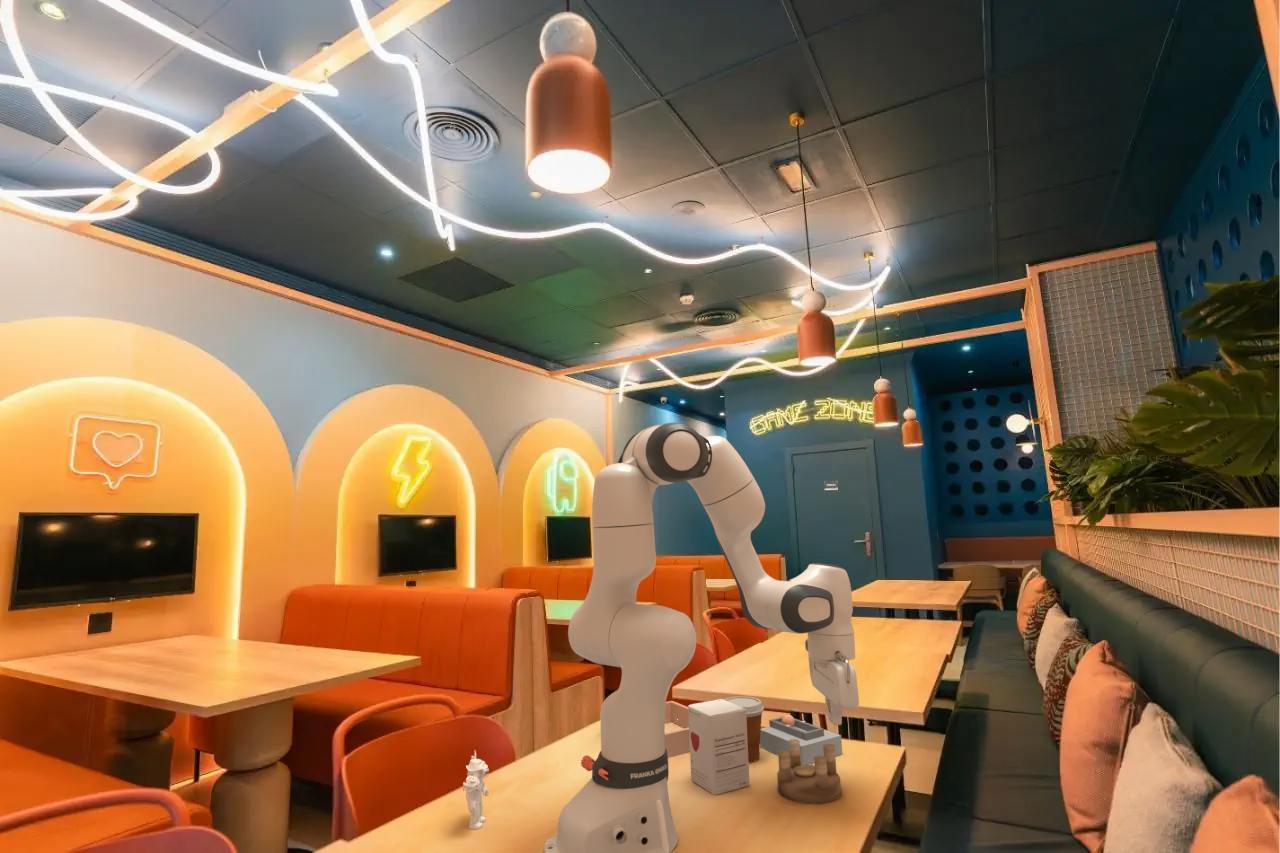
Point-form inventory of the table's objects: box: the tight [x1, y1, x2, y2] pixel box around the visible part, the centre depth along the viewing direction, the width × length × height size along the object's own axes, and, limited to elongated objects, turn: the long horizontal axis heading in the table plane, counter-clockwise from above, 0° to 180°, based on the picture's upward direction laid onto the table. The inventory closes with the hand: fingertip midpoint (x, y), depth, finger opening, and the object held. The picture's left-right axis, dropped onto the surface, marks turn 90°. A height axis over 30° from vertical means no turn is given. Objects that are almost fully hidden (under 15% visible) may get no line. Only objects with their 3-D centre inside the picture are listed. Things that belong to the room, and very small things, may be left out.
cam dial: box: [776, 739, 842, 804], centre depth 126 cm, size 12×12×8 cm
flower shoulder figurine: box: [462, 750, 490, 830], centre depth 117 cm, size 9×4×12 cm, turn 178°
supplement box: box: [687, 698, 751, 796], centre depth 132 cm, size 9×9×15 cm
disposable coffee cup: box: [724, 695, 764, 763], centre depth 145 cm, size 10×10×12 cm
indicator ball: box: [782, 714, 795, 727], centre depth 151 cm, size 3×3×3 cm
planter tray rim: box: [665, 700, 690, 758], centre depth 158 cm, size 21×22×5 cm
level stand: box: [760, 716, 843, 765], centre depth 148 cm, size 12×14×6 cm
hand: (835, 722), depth 123 cm, fingers closed
